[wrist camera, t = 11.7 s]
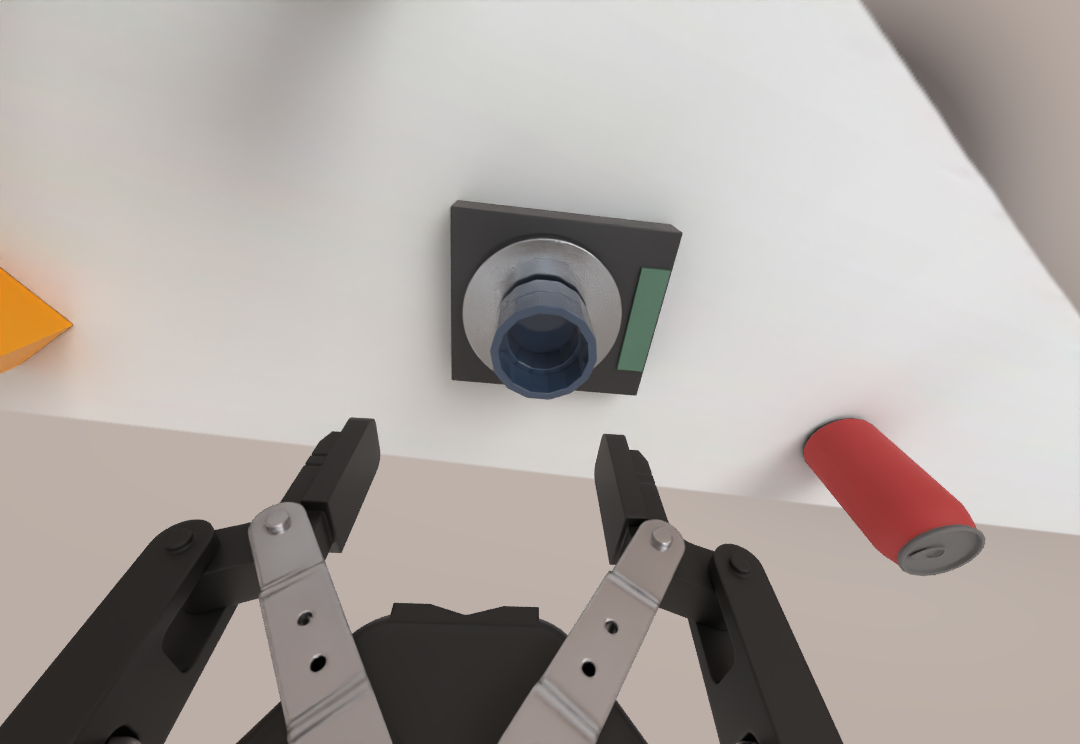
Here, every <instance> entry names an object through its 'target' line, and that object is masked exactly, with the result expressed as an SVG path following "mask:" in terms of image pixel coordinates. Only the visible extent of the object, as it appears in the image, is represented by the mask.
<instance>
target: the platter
mask: <svg viewBox="0 0 1080 744" xmlns="http://www.w3.org/2000/svg"><path fill="white" fill-rule="evenodd" d="M534 280H548V281H558V282H560V283H562V284H564V285H565V286H567V287H569V288H570V289H572V290H574V291H575V292H577V293H578V295H579V296H580V298H581V300H582V301H583V303H584V305H585V306H586V308H587V310H588V313H589V316H590V320H591V323H592V327H593V330H594V334H595V337H596V345H597V362H596V364H595V366H594V368H595V367H596V366H597V365H598V364H599V363H600V362H601V361H602V360H603V359H604V358H605V356H606V355H607V354H608V353H609V351H610V350H611V348H612V346H613V345H614V343H615V340H616V338H617V336H618V333H619V330H620V326H621V319H622V304H621V297H620V294H619V290H618V287H617V285H616V283H615V280H614V278H613V276H612V275H611V273H610V271H609V270H608V268H607V267H606V266H605V264H604V263H603V262H602V261H601V260H600V259H599V258H598V257H597V256H596V255H595V254H594V253H592V252H591V251H589V250H588V249H586V248H585V247H583V246H581V245H579V244H577V243H575V242H573V241H570V240H567V239H564V238H559V237H553V236H533V237H526V238H522V239H518V240H515V241H513V242H510V243H508V244H506V245H504V246H502V247H500V248H498V249H497V250H496V251H494V252H493V253H492V254H490V255H489V256H488V257H487V258H486V259H485V260H484V261H483V262H482V263H481V264H480V266H479V267H478V268H477V270H476V271H475V273H474V274H473V276H472V278H471V280H470V282H469V285H468V287H467V290H466V292H465V297H464V301H463V311H462V313H463V324H464V329H465V333H466V335H467V338H468V341H469V343H470V345H471V347H472V349H473V350H474V351H475V353H476V354H477V356H478V357H479V358H480V359H481V360H482V361H483V363H484V364H486V365H487V366H488V367H489V368H490V369H491V370H493V365H492V360H491V355H490V346H491V341H492V336H493V331H494V326H495V321H496V317H497V314H498V311H499V308H500V305H501V302H502V301H503V300H504V299H505V298H506V297H507V296H508V295H509V294H510V293H511V292H512V291H513V290H514V289H515V288H516V287H517V286H519V285H522V284H525V283H528V282H531V281H534ZM493 371H494V370H493Z"/></svg>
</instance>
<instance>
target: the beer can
mask: <svg viewBox="0 0 1080 744" xmlns="http://www.w3.org/2000/svg"><path fill="white" fill-rule="evenodd" d="M803 453H804V459H805V462H806V463H807V464H808V465H809V467H810V468H811V469H812V470H813V471H814V473H815V474H816V475H817V476H818V478H819V479H820V480H821V481H822V483H823V484H824V485H825V486H826V488H827V489H828V490H829V491H830V492H831V494H832V495H833V496H834V497H835V499H836V500H837V501H838V502H839V504H840V505H841V506H842V507H843V509H844V510H845V511H846V512H847V514H848V515H849V516H850V517H851V518H852V520H853V521H854V522H855V523H856V525H857V526H858V527H859V528H860V529H861V531H862V532H863V533H864V535H865V536H866V537H867V538H868V540H869V541H870V542H871V543H872V544H873V545H874V547H875V548H876V549H877V550H878V551H880V552H881V553H882V554H883V555H884V556H886V557H887V558H889V559H890V560H892V561H893V562H895V563H896V564H898V565H899V566H900V568H901V569H902V570H903V571H904V572H907V573H909V574H912V575H920V576H926V575H936V574H940V573H945V572H948V571H951V570H953V569H956V568H959V567H961V566H962V565H964V564H966V563H968V562H969V561H971V560H972V559H973V558H975V557H976V556H977V555H978V554H979V553H980V552H981V550H982V549H983V548H984V544H985V537H984V535H983V533H982V532H981V531H979V530H978V529H977V528H976V526H975V524H974V522H973V520H972V518H971V516H970V515H969V513H968V512H967V510H966V509H965V507H964V506H963V505H962V503H960V502H959V501H958V500H957V499H956V498H955V497H954V496H953V495H951V494H950V493H949V492H948V491H947V490H946V489H945V488H943V487H942V486H941V485H940V484H939V483H938V482H937V481H936V480H934V479H933V478H932V477H931V476H930V475H929V474H928V473H927V472H925V471H924V470H923V469H922V468H921V467H920V466H919V465H917V464H916V463H915V462H914V461H913V460H912V459H911V458H910V457H908V456H907V455H906V454H905V453H904V452H903V451H902V450H900V449H899V448H898V447H897V446H896V445H895V444H894V443H893V442H891V441H890V440H889V439H888V438H887V437H886V436H885V435H884V434H882V433H881V432H880V431H879V430H878V429H877V428H876V427H874V426H873V425H872V424H870V423H868V422H867V421H865V420H860V419H854V418H849V419H840V420H837V421H834V422H831V423H828V424H826V425H825V426H823V427H821V428H819V429H818V430H817V431H816V432H815V433H814V434H812V435H811V437H810V438H809V439H808V441H807V442H806V445H805V448H804V452H803Z"/></svg>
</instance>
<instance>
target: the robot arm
mask: <svg viewBox="0 0 1080 744" xmlns="http://www.w3.org/2000/svg"><path fill="white" fill-rule="evenodd" d="M379 461H380V447H379V441H378V434H377V428H376V422H375V420H374V419H368V418H350V419H349V420H348V421H347V423H346V425H345V426H344V428H343V430H342V431H341V432H334V431H333V432H331V433H330V434H329V435H327V436H326V437H325V438H323V439H322V440H321V441H320V442H319V443H318V445H317V446H316V448H315V449H314V451H313V453H312V456H310V457H309V459H308V460H307V462H306V465H305V466H303V468H302V469H301V471H300V473H299V474H298V476H297V477H296V479H295V480H294V482H293V483H292V485H291V486H290V488H289V490H288V491H287V493H286V494H285V496H284V497H283V499H282V500H281V502H280V503H278V504H276V505H272V506H270V507H268V508H266V509H265V510H263V511H262V512H260V513H259V514H258V515H257V516H256V517H255V518H254V519H253V520H252V522H250V523H246V524H242V525H237V526H232V527H228V528H223V529H219V530H214V528H213V527H212V525H211V524H210V523H209V522H207V521H204V520H188V521H184V522H181V523H178V524H176V525H173V526H171V527H169V528H168V529H166V530H164V531H163V532H161V533H160V534H159V535H158V536H156V537H155V538H154V539H153V540H152V541H151V542H150V544H149V545H148V546H147V547H146V548H145V550H144V551H143V552H142V553H141V555H140V556H139V557H138V558H137V559H136V561H135V562H134V563H133V564H132V566H131V567H130V568H129V569H128V571H127V572H126V573H125V574H124V575H123V577H122V578H121V579H120V580H119V582H118V583H117V584H116V585H115V587H114V588H113V589H112V590H111V591H110V593H109V594H108V595H107V596H106V598H105V599H104V600H103V601H102V603H101V604H100V605H99V606H98V607H97V609H96V610H95V611H94V612H93V614H92V615H91V616H90V617H89V619H88V620H87V621H86V622H85V623H84V625H83V626H82V627H81V628H80V629H79V631H78V632H77V633H76V635H75V636H74V637H73V638H72V639H71V641H70V642H69V643H68V644H67V645H66V647H65V648H64V649H63V650H62V652H61V653H60V654H59V655H58V657H57V658H56V659H55V660H54V661H53V663H52V664H51V665H50V666H49V668H48V669H47V670H46V671H45V672H44V674H43V675H42V676H41V677H40V679H39V680H38V681H37V682H36V683H35V685H34V686H33V687H32V688H31V690H30V691H29V692H28V693H27V695H26V696H25V697H24V698H23V699H22V701H21V702H20V703H19V704H18V706H17V707H16V708H15V709H14V711H13V712H12V713H11V714H10V715H9V717H8V718H7V719H6V720H5V722H4V723H3V724H2V725H1V727H0V744H164V742H165V741H166V738H167V737H168V735H169V733H170V731H171V729H172V727H173V726H174V724H175V722H176V720H177V718H178V716H179V714H180V712H181V711H182V709H183V707H184V705H185V703H186V701H187V699H188V697H189V696H190V694H191V692H192V690H193V688H194V686H195V684H196V682H197V681H198V678H199V677H200V675H201V673H202V671H203V669H204V667H205V665H206V664H207V662H208V660H209V658H210V656H211V654H212V652H213V651H214V648H215V647H216V645H217V643H218V641H219V639H220V637H221V636H222V634H223V632H224V630H225V628H226V626H227V624H228V622H229V621H230V619H231V617H232V615H233V613H234V611H235V609H236V607H237V606H238V604H239V603H242V602H246V601H250V600H254V599H257V598H259V602H260V607H261V612H262V616H263V621H264V625H265V630H266V634H267V639H268V644H269V648H270V652H271V658H272V662H273V667H274V671H275V676H276V681H277V685H278V690H279V694H280V699H281V701H280V702H279V703H278V704H277V705H276V706H275V707H274V708H273V709H272V710H271V711H270V712H269V713H268V714H267V715H266V716H265V717H264V718H262V720H261V721H259V722H258V723H257V724H256V725H255V726H254V727H253V728H252V729H251V730H250V731H249V732H248V733H247V734H246V735H245V736H244V737H243V738H241V740H239V742H237V743H236V744H648V743H647V742H646V741H645V739H644V738H643V736H642V735H641V734H640V732H639V731H638V730H637V728H636V727H635V725H634V724H633V723H632V721H631V720H630V718H629V717H628V716H627V714H626V713H625V712H624V710H623V709H622V707H621V706H620V705H619V703H618V702H617V701H616V698H617V696H618V694H619V691H620V689H621V687H622V685H623V683H624V681H625V679H626V676H627V674H628V672H629V670H630V668H631V666H632V663H633V661H634V659H635V657H636V655H637V653H638V651H639V649H640V646H641V644H642V642H643V640H644V638H645V636H646V634H647V631H648V629H649V627H650V625H651V623H652V621H653V618H654V616H655V614H656V612H657V610H658V608H662V609H664V610H667V611H670V612H672V613H675V614H678V615H680V616H683V617H685V618H688V621H689V625H690V629H691V633H692V637H693V640H694V644H695V648H696V652H697V656H698V659H699V664H700V668H701V671H702V675H703V679H704V683H705V687H706V690H707V695H708V699H709V702H710V706H711V710H712V714H713V718H714V722H715V725H716V729H717V733H718V737H719V741H720V744H843V742H842V740H841V738H840V735H839V733H838V731H837V729H836V727H835V724H834V722H833V720H832V718H831V716H830V713H829V711H828V709H827V707H826V705H825V702H824V700H823V698H822V696H821V694H820V692H819V689H818V687H817V685H816V683H815V680H814V678H813V676H812V674H811V672H810V670H809V667H808V665H807V663H806V661H805V659H804V656H803V654H802V652H801V650H800V648H799V645H798V643H797V641H796V639H795V637H794V634H793V633H792V630H791V628H790V626H789V623H788V621H787V619H786V617H785V615H784V613H783V611H782V608H781V606H780V604H779V602H778V599H777V597H776V595H775V593H774V591H773V588H772V586H771V584H770V582H769V580H768V577H767V575H766V573H765V571H764V569H763V567H762V565H761V563H760V562H759V560H758V559H757V558H756V557H755V556H754V555H753V554H752V553H750V552H749V551H748V550H746V549H744V548H742V547H740V546H737V545H734V544H723V545H720V546H719V547H718V548H717V549H716V550H715V551H711V550H709V549H706V548H703V547H700V546H697V545H694V544H692V543H689V542H687V541H686V540H684V539H683V537H682V535H681V534H680V532H679V531H677V529H676V528H675V527H673V526H672V525H670V524H669V522H668V520H667V517H666V514H665V511H664V508H663V505H662V502H661V499H660V496H659V493H658V490H657V487H656V485H655V482H654V479H653V476H652V473H651V470H650V467H649V464H648V461H647V460H646V459H645V458H644V456H643V455H642V454H641V453H640V452H639V451H638V450H629V447H628V444H627V441H626V437H625V436H624V435H614V434H603V436H602V438H601V443H600V447H599V451H598V455H597V459H596V463H595V473H594V476H595V485H596V490H597V496H598V501H599V507H600V513H601V518H602V524H603V529H604V535H605V541H606V547H607V551H608V557H609V563H610V565H616V566H615V567H614V569H613V570H612V571H609V572H608V573H607V574H606V576H605V578H604V579H603V580H602V582H601V584H600V585H599V587H598V588H597V590H596V592H595V594H594V595H593V596H592V598H591V600H590V601H589V603H588V604H587V606H586V608H585V609H584V611H583V612H582V614H581V616H580V617H579V619H578V620H577V622H576V624H575V625H574V627H573V628H572V630H571V631H570V633H569V635H567V634H566V633H564V632H563V631H562V630H561V629H559V628H558V627H556V626H555V625H553V624H551V623H549V622H547V621H544V620H541V619H539V608H538V607H510V606H509V607H508V606H503V607H499V608H495V609H490V610H486V611H482V612H478V613H474V614H470V615H463V614H460V613H456V612H453V611H450V610H447V609H444V608H441V607H438V606H434V605H432V604H413V603H394V604H393V608H392V611H391V615H388V616H384V617H381V618H379V619H376V620H374V621H372V622H370V623H368V624H366V625H364V626H363V627H361V628H360V629H358V630H356V631H355V632H354V633H353V634H351V631H350V628H349V625H348V623H347V620H346V617H345V615H344V612H343V609H342V606H341V604H340V601H339V598H338V595H337V593H336V590H335V587H334V584H333V582H332V579H331V576H330V574H329V571H328V568H327V566H326V563H325V559H326V557H327V555H328V553H330V552H331V553H341V552H342V550H343V548H344V546H345V543H346V541H347V539H348V536H349V534H350V532H351V529H352V527H353V525H354V523H355V520H356V518H357V516H358V513H359V511H360V509H361V506H362V504H363V502H364V499H365V497H366V495H367V492H368V490H369V487H370V485H371V483H372V481H373V478H374V476H375V474H376V471H377V469H378V466H379Z"/></svg>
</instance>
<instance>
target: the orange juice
mask: <svg viewBox="0 0 1080 744" xmlns="http://www.w3.org/2000/svg"><path fill="white" fill-rule="evenodd" d="M71 326H73V324H72V323H70V322H69V321H68V320H66V319H65V318H64V317H63V316H61V315H60V314H59V313H58V312H56V311H55V310H54V309H52V308H51V307H50V306H49V305H47V304H46V303H45V302H43V301H42V300H41V299H40V298H38V297H37V296H36V295H35V294H33V293H32V292H31V291H29V290H28V289H27V288H26V287H24V286H23V285H22V284H20V283H19V282H18V281H17V280H15V279H14V278H13V277H11V276H10V275H9V274H8V273H6V272H5V271H4V270H3V269H1V268H0V374H1V373H3V372H6V371H8V370H10V369H12V368H14V367H16V366H18V365H20V364H22V363H23V362H24V361H26V360H27V359H28V358H30V357H31V356H32V355H34V354H35V353H36V352H38V351H39V350H40V349H42V348H43V347H44V346H46V345H47V344H48V343H50V342H51V341H53V340H54V339H55V338H57V337H58V336H59V335H61V334H62V333H63V332H65V331H66V330H67V329H69V328H70V327H71Z"/></svg>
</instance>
